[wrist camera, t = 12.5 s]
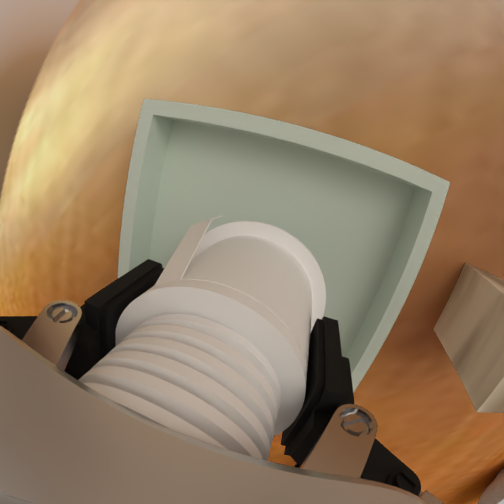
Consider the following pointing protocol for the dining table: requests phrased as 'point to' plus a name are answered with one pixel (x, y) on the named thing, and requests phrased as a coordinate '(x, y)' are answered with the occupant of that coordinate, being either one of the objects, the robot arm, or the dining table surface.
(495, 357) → the maple block
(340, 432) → the robot arm
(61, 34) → the dining table surface
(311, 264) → the downlight
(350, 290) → the tray
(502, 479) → the cereal bowl
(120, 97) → the dining table surface
